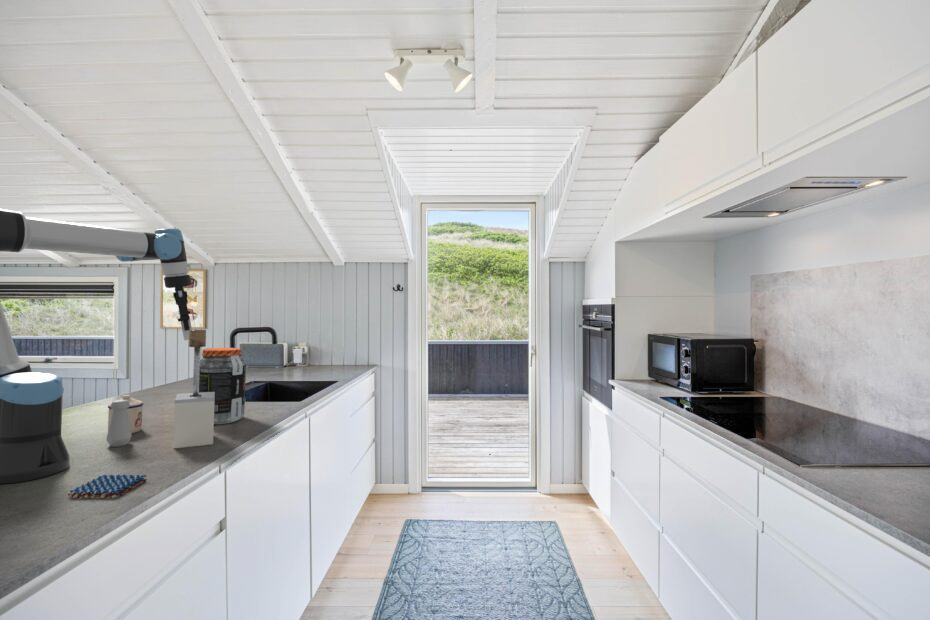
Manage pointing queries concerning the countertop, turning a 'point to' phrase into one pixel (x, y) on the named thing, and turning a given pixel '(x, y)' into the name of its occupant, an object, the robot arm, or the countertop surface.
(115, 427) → the salt shaker
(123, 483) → the woven mat
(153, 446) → the countertop surface
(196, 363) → the wooden block topped rod
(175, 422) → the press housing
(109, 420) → the cream lidded canister
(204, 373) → the supplement tub
